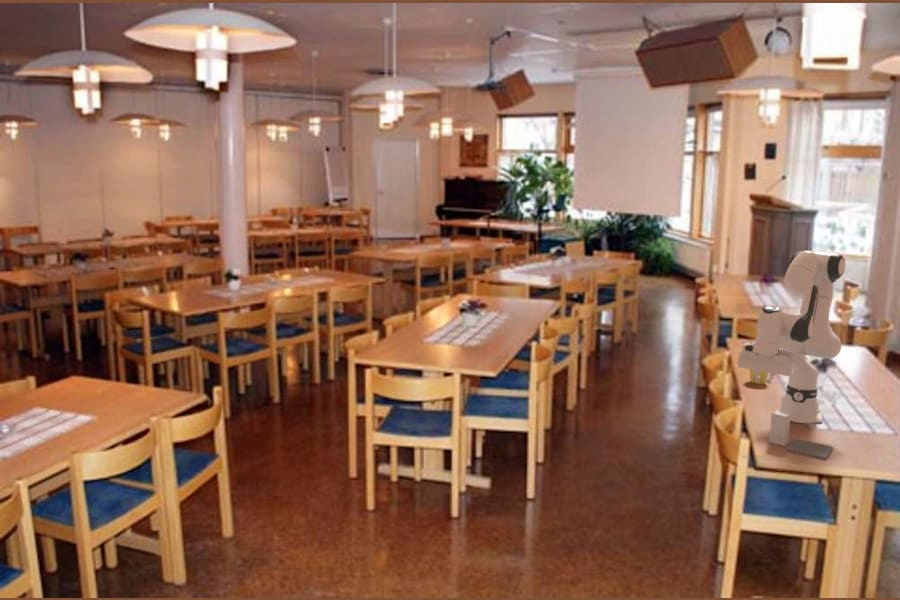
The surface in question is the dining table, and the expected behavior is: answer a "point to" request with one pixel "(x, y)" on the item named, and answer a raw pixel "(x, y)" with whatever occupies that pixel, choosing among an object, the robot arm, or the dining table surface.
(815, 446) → the rubber mat
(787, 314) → the robot arm
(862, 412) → the dining table surface
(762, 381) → the plant pot
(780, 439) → the skincare box
